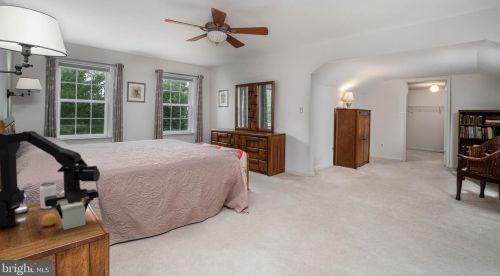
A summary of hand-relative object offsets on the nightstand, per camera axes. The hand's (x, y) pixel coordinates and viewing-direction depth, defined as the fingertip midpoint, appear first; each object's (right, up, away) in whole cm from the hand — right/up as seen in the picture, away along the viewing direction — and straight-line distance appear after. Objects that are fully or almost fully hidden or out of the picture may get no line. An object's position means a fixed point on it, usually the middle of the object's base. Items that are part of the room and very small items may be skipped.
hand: (73, 216), depth 109 cm
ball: (-9, -1, -2) cm, 9 cm away
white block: (0, -4, 0) cm, 4 cm away
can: (-26, -1, +19) cm, 32 cm away
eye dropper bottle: (-18, -1, +22) cm, 28 cm away
